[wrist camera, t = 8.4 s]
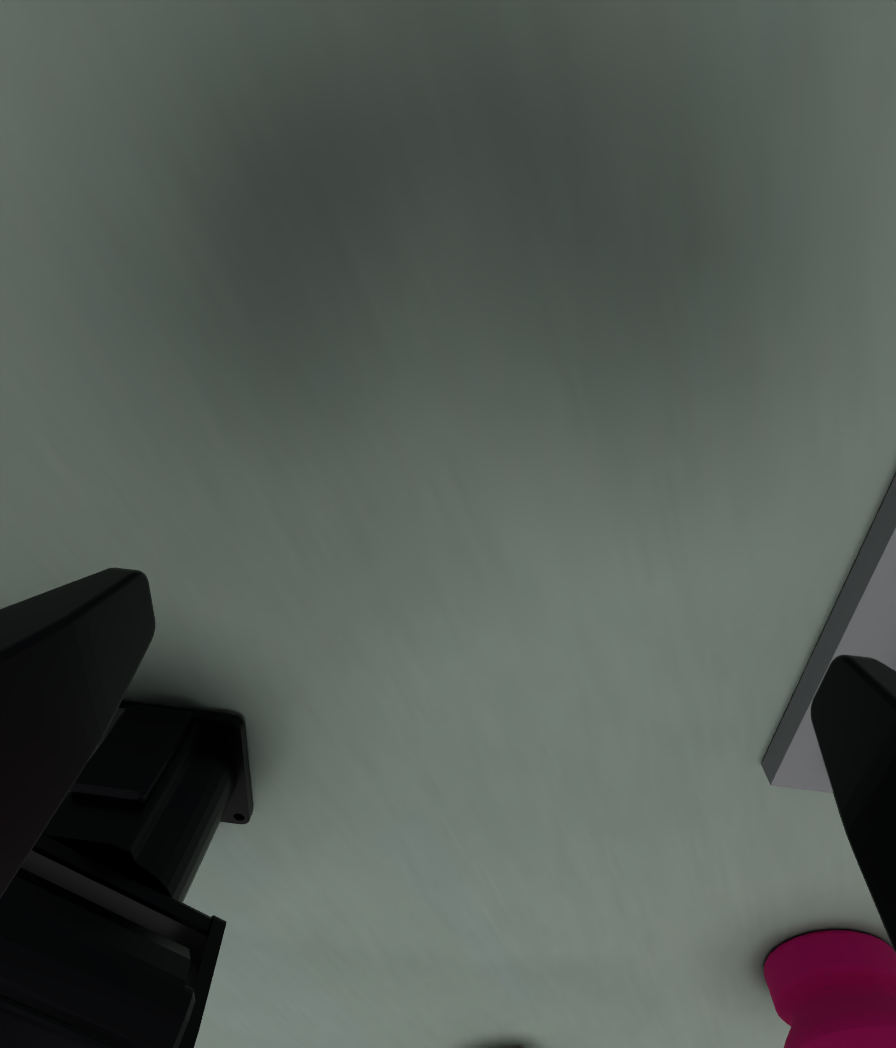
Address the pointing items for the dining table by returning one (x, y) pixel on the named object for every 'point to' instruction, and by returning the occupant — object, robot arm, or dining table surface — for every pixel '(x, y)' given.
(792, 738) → the display stand
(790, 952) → the pepper mill
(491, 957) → the dining table surface
